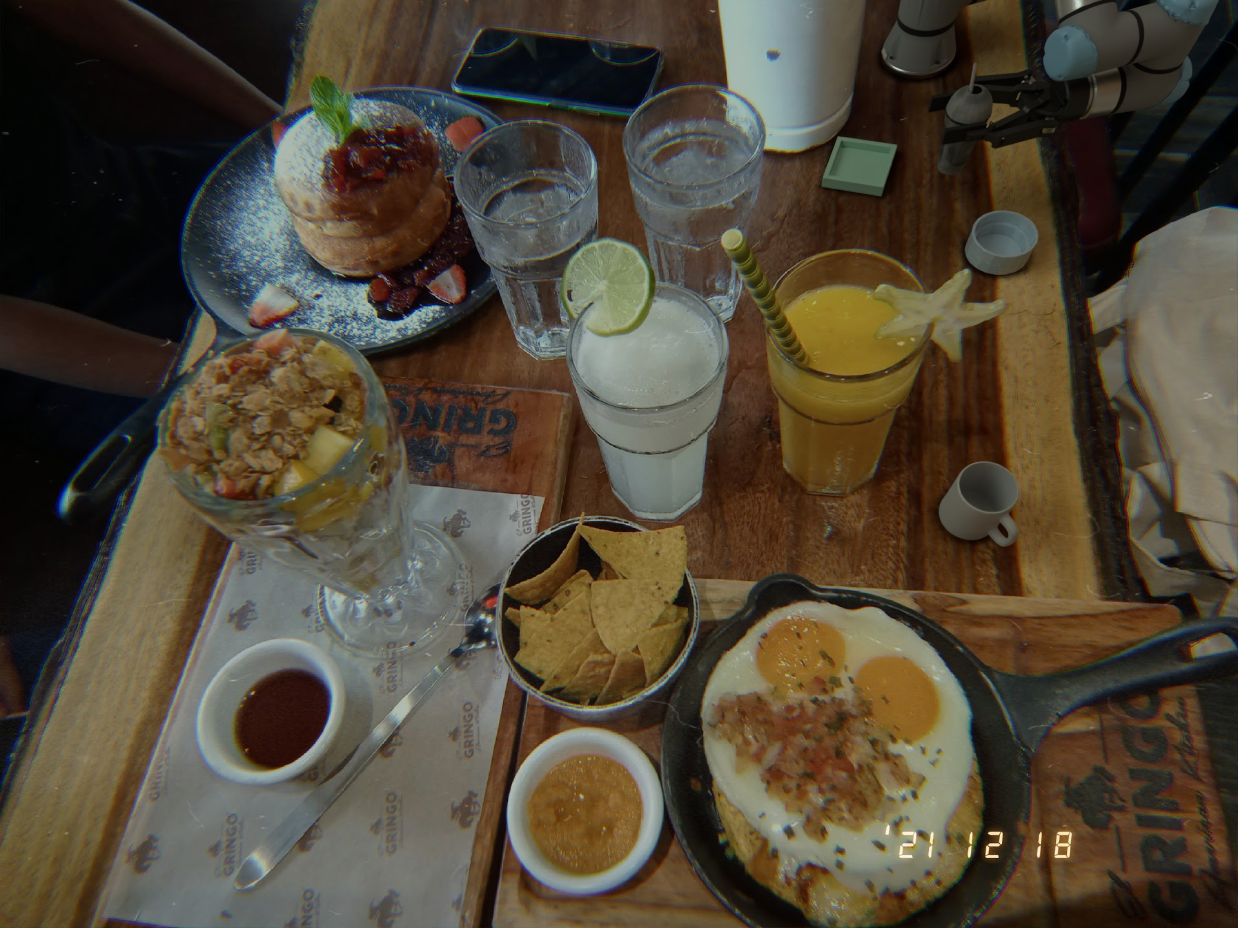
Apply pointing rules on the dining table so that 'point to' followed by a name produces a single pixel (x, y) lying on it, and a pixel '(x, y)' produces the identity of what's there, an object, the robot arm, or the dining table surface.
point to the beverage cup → (963, 123)
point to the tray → (859, 166)
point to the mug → (981, 503)
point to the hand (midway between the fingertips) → (936, 120)
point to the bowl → (1001, 242)
